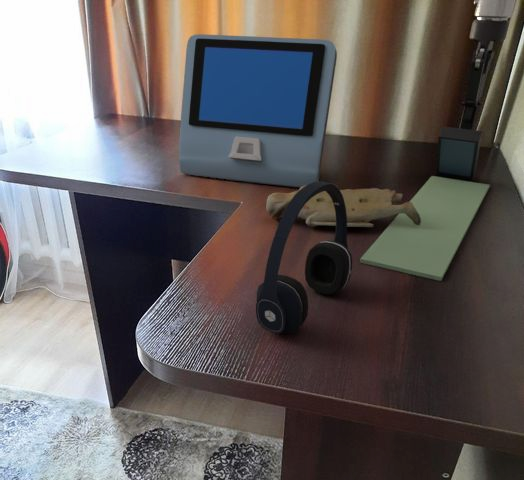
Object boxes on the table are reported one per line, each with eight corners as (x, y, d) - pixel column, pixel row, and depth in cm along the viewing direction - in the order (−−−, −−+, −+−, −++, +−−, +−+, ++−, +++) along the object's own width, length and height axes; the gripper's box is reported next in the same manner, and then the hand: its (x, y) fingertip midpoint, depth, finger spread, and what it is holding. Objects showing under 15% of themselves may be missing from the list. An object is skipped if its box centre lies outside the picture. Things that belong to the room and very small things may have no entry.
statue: (413, 198, 104) (269, 214, 108) (416, 168, 98) (264, 186, 102) (421, 232, 98) (269, 248, 102) (426, 202, 93) (263, 219, 96)
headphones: (316, 277, 83) (326, 163, 73) (354, 288, 80) (371, 171, 70) (247, 332, 70) (246, 202, 59) (289, 348, 67) (297, 214, 56)
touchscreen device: (176, 177, 125) (167, 34, 109) (207, 159, 141) (202, 32, 124) (314, 193, 117) (327, 41, 100) (330, 172, 133) (344, 38, 116)
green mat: (489, 188, 123) (490, 184, 122) (441, 281, 83) (442, 277, 82) (431, 178, 128) (431, 175, 127) (359, 262, 88) (360, 258, 88)
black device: (475, 171, 127) (482, 130, 115) (472, 181, 127) (478, 142, 114) (439, 166, 131) (442, 126, 118) (435, 176, 130) (438, 137, 118)
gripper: (478, 17, 115) (454, 128, 129) (468, 19, 106) (443, 138, 120) (513, 18, 112) (484, 131, 126) (506, 20, 103) (476, 142, 117)
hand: (464, 134), depth 123 cm, fingers closed
